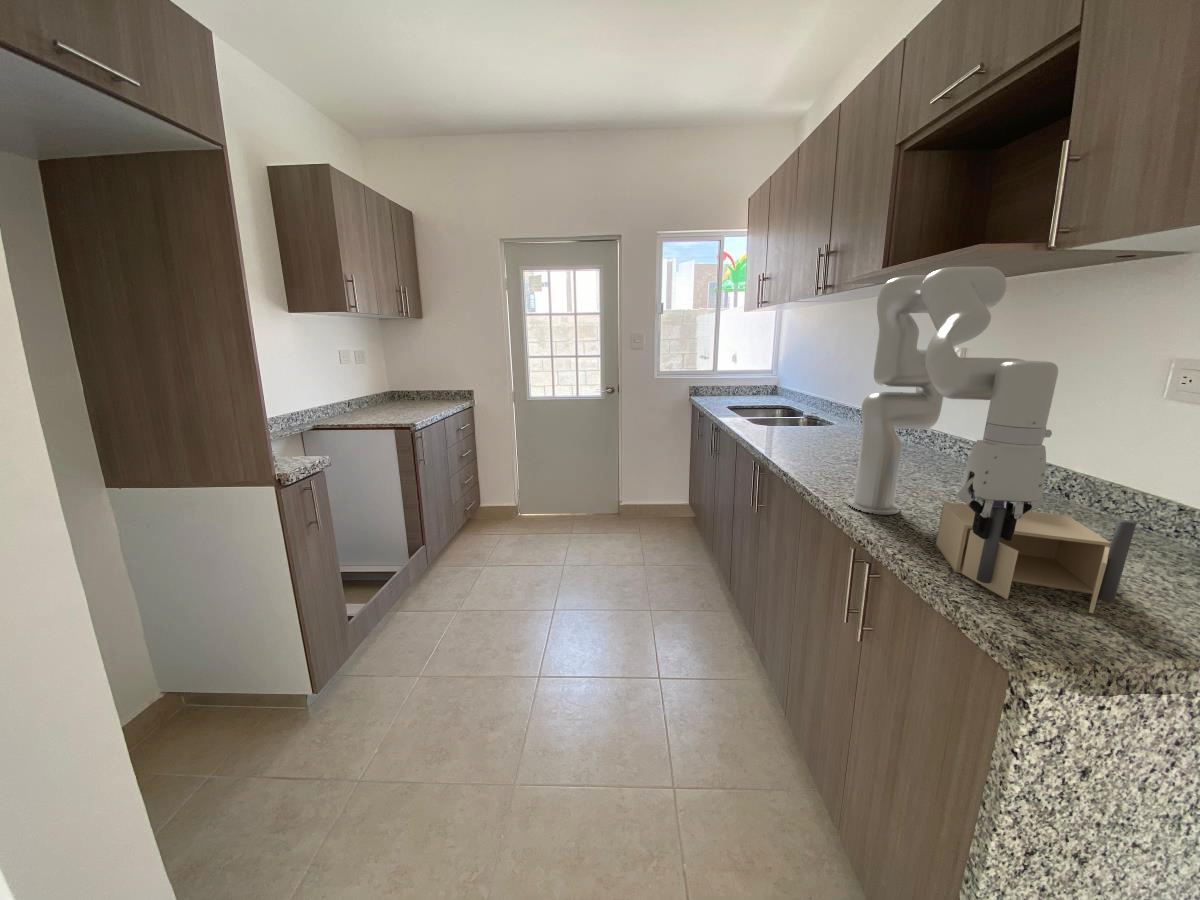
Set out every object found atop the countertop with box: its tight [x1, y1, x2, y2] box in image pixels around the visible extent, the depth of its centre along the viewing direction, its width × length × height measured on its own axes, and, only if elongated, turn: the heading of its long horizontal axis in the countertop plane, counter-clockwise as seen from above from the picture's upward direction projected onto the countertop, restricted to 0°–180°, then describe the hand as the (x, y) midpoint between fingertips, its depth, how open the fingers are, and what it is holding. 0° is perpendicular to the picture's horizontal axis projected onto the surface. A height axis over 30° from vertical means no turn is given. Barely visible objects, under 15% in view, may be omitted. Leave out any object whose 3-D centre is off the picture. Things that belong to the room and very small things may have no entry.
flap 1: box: [961, 506, 1018, 599], centre depth 83 cm, size 2×9×16 cm, turn 4°
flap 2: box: [1088, 519, 1137, 614], centre depth 76 cm, size 2×9×16 cm, turn 131°
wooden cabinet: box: [935, 501, 1111, 594], centre depth 92 cm, size 14×21×10 cm, turn 67°
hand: (991, 535), depth 81 cm, fingers open, 3 cm apart
